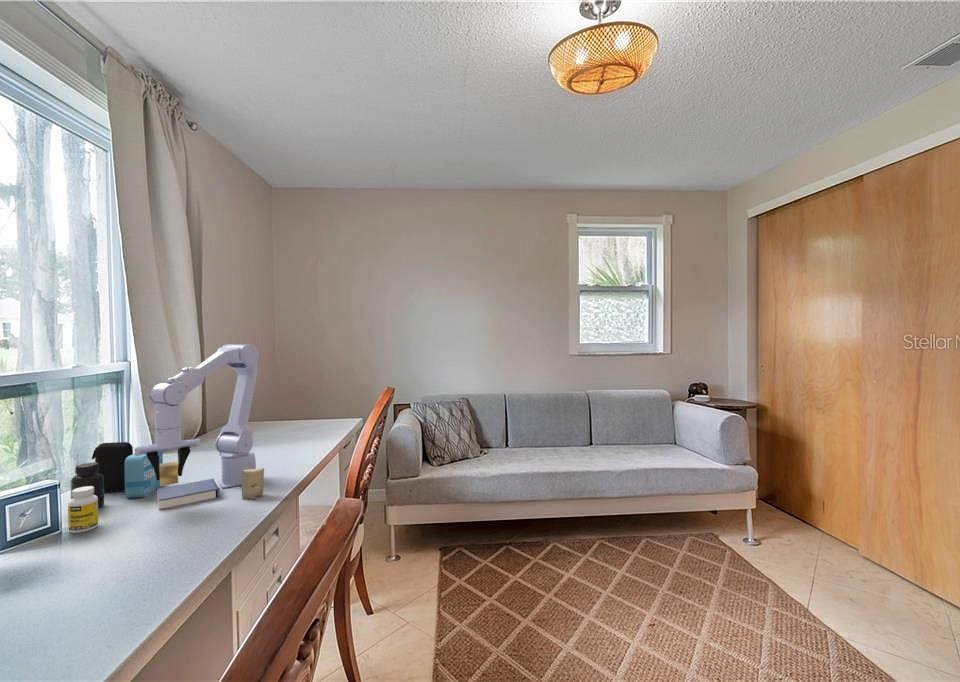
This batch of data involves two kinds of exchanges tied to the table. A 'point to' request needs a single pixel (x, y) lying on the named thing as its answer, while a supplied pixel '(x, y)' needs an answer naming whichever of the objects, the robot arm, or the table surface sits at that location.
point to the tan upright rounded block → (252, 483)
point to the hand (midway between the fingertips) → (169, 477)
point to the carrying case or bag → (113, 463)
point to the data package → (140, 476)
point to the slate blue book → (187, 493)
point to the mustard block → (168, 473)
